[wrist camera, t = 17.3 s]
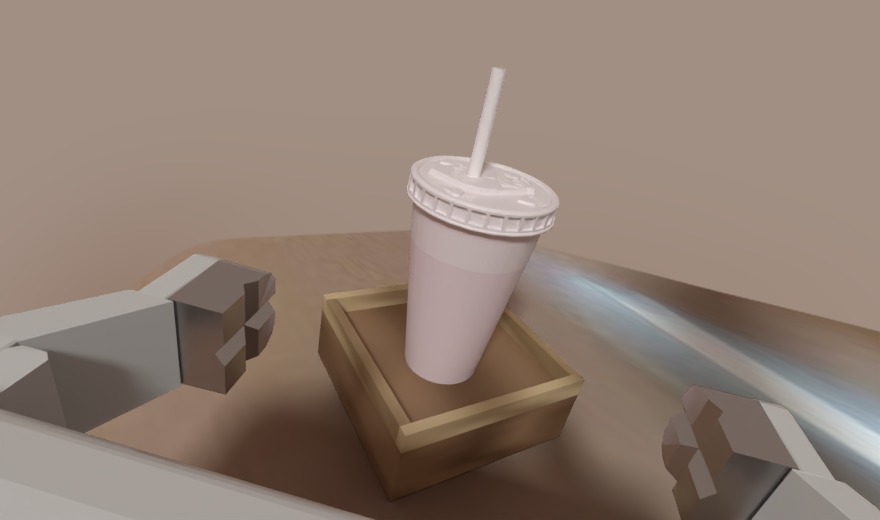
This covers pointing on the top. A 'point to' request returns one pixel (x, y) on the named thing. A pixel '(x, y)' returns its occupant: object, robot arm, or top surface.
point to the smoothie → (467, 250)
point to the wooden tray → (439, 392)
